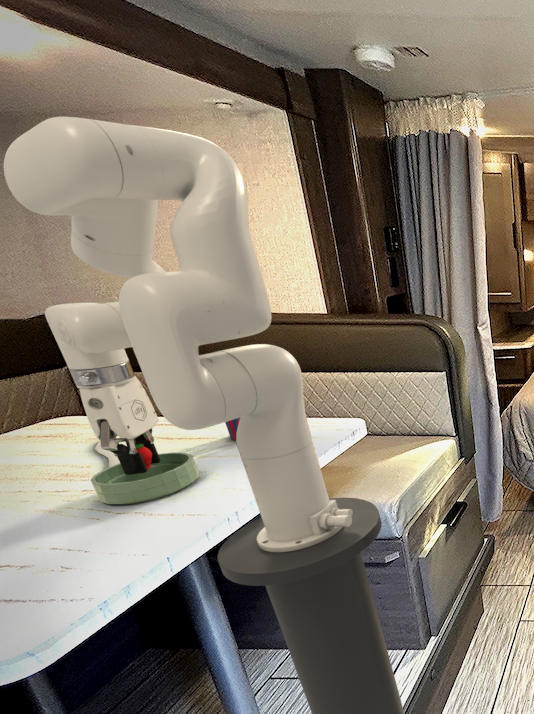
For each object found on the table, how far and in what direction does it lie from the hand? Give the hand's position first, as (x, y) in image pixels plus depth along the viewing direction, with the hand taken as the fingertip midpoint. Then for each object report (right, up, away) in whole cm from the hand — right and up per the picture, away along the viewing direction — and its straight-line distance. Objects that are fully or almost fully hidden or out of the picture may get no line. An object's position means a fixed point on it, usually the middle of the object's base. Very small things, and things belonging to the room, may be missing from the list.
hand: (143, 467), depth 95 cm
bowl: (0, -4, +2) cm, 5 cm away
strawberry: (0, 0, 0) cm, 0 cm away
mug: (-1, +5, +26) cm, 26 cm away
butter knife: (-25, +1, +17) cm, 30 cm away
